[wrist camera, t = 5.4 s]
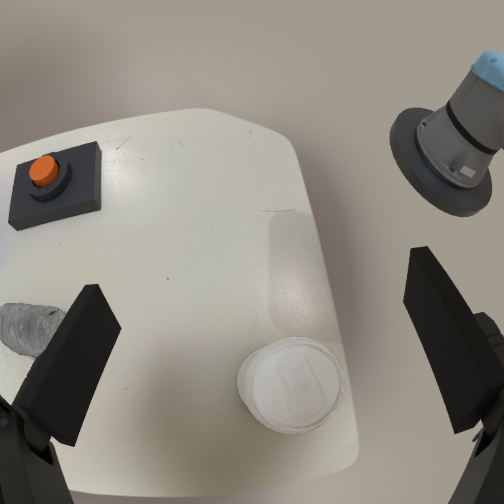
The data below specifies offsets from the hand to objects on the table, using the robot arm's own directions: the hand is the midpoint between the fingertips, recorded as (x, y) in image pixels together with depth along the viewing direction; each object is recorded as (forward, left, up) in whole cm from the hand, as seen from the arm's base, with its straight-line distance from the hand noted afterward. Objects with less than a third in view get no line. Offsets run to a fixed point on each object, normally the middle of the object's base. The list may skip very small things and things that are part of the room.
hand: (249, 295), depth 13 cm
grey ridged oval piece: (+23, -5, -24) cm, 33 cm away
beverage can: (-4, +5, -24) cm, 24 cm away
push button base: (+20, -25, -23) cm, 40 cm away
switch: (+20, -25, -19) cm, 37 cm away
